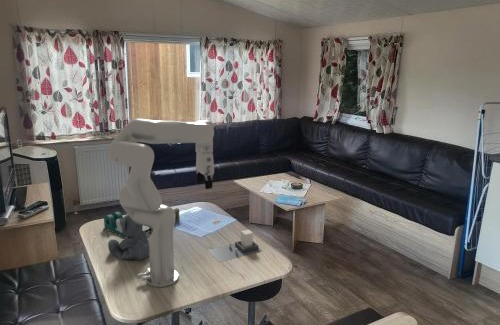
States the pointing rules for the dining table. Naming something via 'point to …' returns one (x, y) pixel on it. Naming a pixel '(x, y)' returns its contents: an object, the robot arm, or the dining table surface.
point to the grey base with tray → (233, 251)
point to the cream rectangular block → (246, 238)
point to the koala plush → (130, 240)
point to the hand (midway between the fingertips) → (204, 185)
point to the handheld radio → (175, 219)
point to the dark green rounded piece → (113, 222)
